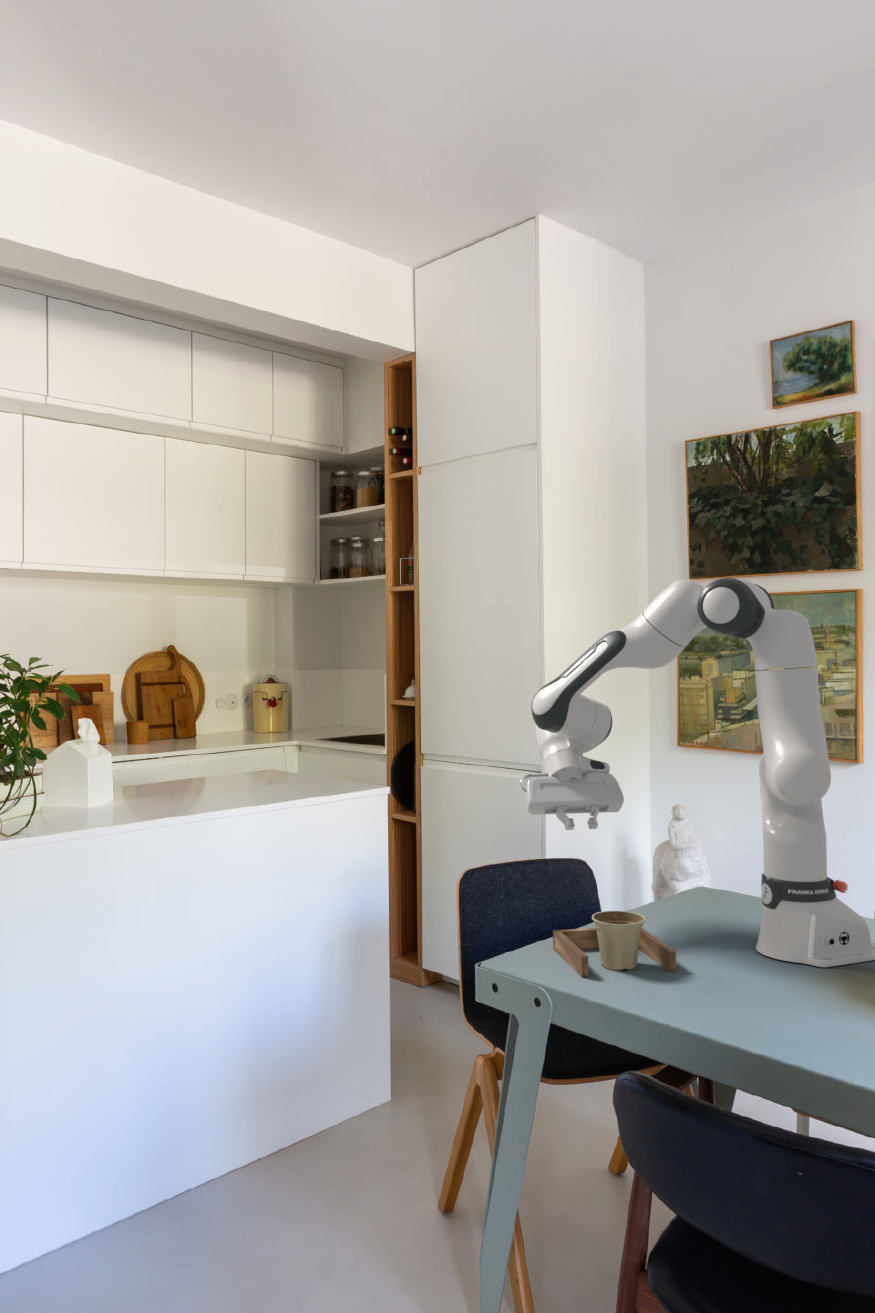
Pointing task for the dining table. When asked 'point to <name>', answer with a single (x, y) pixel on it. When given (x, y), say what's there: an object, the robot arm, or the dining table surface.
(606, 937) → the flower pot
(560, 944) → the wooden u-shaped frame
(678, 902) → the dining table surface
